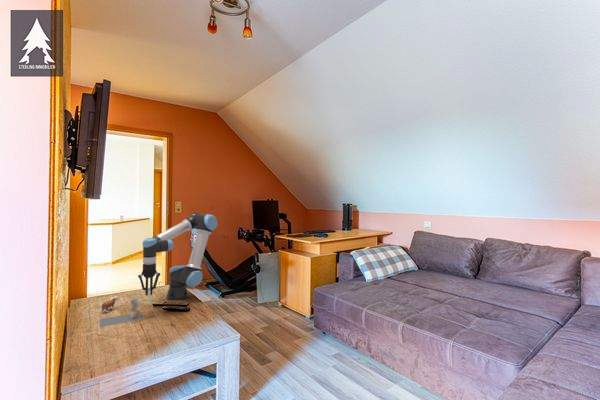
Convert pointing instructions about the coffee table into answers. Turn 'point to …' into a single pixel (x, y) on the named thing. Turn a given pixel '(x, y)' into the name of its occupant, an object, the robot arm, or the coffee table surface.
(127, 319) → the felt mat
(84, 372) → the coffee table surface
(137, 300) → the beech block
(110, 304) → the bull figurine
